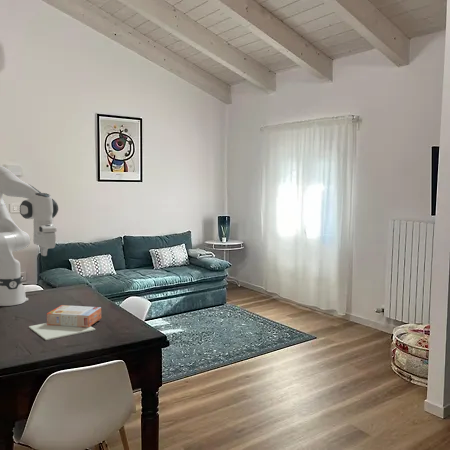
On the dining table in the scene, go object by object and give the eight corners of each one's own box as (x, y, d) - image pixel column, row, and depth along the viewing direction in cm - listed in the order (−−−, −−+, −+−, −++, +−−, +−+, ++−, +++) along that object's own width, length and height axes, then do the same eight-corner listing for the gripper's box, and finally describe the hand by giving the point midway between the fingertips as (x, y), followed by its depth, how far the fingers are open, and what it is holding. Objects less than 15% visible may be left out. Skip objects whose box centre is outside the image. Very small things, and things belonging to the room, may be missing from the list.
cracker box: (46, 325, 215) (88, 328, 212) (45, 313, 215) (88, 315, 211) (62, 316, 229) (102, 318, 226) (61, 304, 228) (101, 306, 225)
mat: (28, 327, 213) (28, 326, 213) (75, 318, 228) (75, 317, 227) (46, 340, 197) (46, 339, 197) (95, 330, 211) (95, 328, 211)
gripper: (29, 225, 230) (30, 253, 231) (44, 229, 214) (44, 259, 216) (42, 224, 234) (43, 252, 235) (57, 228, 218) (58, 257, 220)
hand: (44, 255), depth 225 cm, fingers closed
